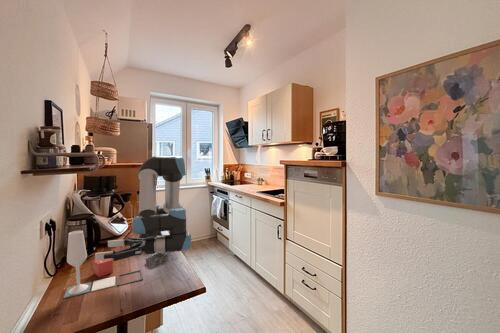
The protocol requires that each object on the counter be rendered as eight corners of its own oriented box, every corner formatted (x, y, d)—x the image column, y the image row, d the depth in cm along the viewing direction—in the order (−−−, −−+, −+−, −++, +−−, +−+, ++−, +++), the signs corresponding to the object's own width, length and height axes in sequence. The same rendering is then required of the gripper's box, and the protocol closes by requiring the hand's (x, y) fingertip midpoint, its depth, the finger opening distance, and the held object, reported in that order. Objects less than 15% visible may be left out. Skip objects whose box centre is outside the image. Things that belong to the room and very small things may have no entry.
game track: (141, 270, 110) (141, 269, 110) (142, 280, 101) (142, 279, 101) (68, 287, 96) (68, 286, 96) (62, 299, 87) (62, 298, 87)
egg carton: (163, 256, 125) (163, 249, 125) (170, 260, 120) (169, 253, 120) (143, 263, 118) (143, 255, 117) (150, 267, 113) (150, 259, 112)
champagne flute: (63, 293, 91) (60, 234, 90) (79, 284, 97) (76, 229, 96) (78, 294, 90) (75, 235, 89) (92, 285, 96) (89, 230, 95)
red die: (108, 268, 112) (108, 255, 112) (112, 272, 108) (112, 258, 108) (94, 273, 107) (93, 259, 107) (98, 277, 104) (97, 263, 103)
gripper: (150, 265, 88) (89, 273, 83) (160, 242, 113) (112, 247, 107) (150, 247, 88) (88, 253, 83) (159, 228, 112) (112, 231, 107)
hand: (102, 249), depth 95 cm, fingers open, 13 cm apart
